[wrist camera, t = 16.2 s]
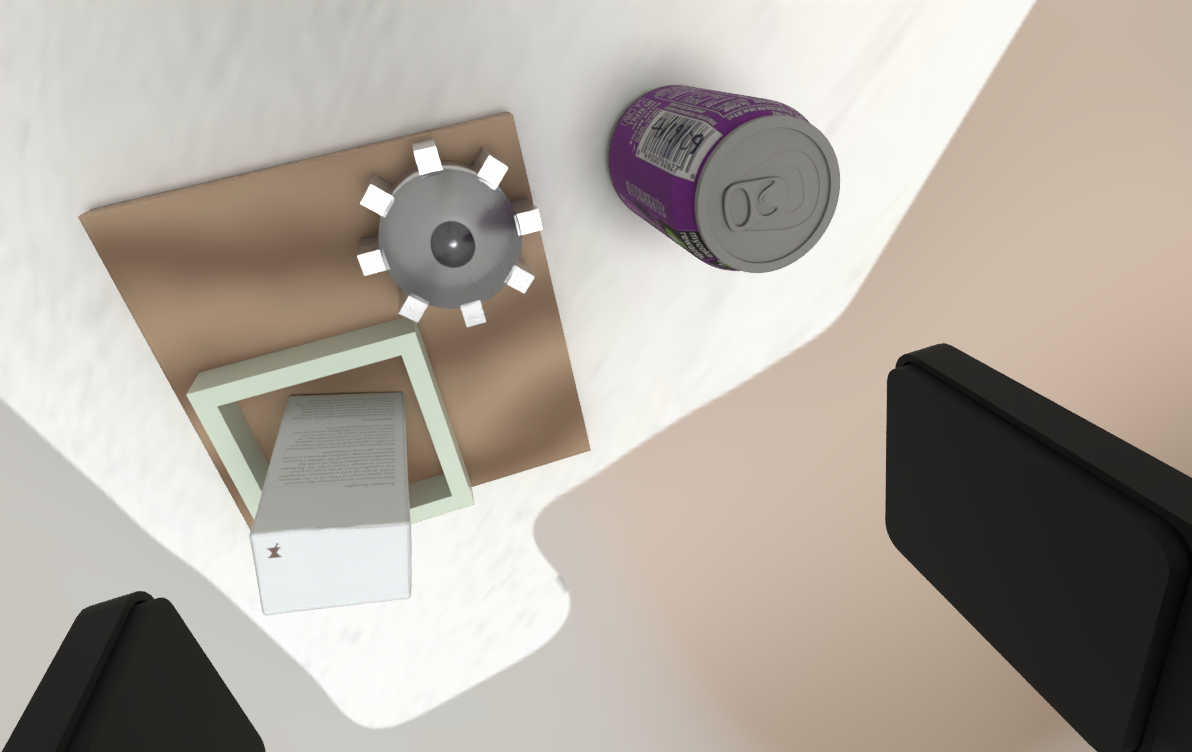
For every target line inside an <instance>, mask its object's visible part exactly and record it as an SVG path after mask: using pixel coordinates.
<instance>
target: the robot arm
mask: <svg viewBox="0 0 1192 752" xmlns="http://www.w3.org/2000/svg"><path fill="white" fill-rule="evenodd" d="M886 434H887V435H886V515H885V516H886V517H885V520H886V521H885V522H886V529H887V532H888V534H889V537H890V539H891V541H892V543H893V544H894V546H895V547H896V548H897V549H898V550H899V551H900V552H901V554H902V555H903V556H904V557H906V559H907V560H908V561H909V562H910V563H911V564H912V565H913V566H914V567H915V568H916V569H917V570H918V571H919V572H920V573H921V574H922V575H923V576H924V577H925V578H926V579H927V580H928V581H929V582H930V583H931V584H932V585H933V586H934V587H935V588H936V589H937V590H938V591H939V592H940V593H941V594H942V595H943V596H944V597H945V598H946V599H947V600H948V601H949V602H950V603H951V604H952V605H953V606H954V607H955V608H956V609H957V610H958V611H959V612H960V613H961V614H962V615H963V616H964V618H965V619H966V620H967V621H968V622H969V623H970V624H971V625H972V626H973V627H975V629H976V630H977V631H978V632H979V633H980V634H981V635H982V636H983V637H984V638H985V639H986V640H987V641H988V642H989V643H990V644H991V645H992V646H993V647H994V648H995V649H996V650H997V651H998V652H999V653H1000V654H1001V655H1002V656H1003V657H1004V658H1005V659H1006V660H1007V661H1008V662H1009V663H1010V664H1011V665H1012V666H1013V667H1014V668H1015V669H1016V670H1017V671H1018V672H1019V673H1020V674H1021V675H1022V677H1023V678H1025V679H1026V681H1027V682H1028V683H1029V684H1030V685H1031V686H1032V687H1033V688H1034V689H1035V690H1036V691H1038V693H1039V694H1040V695H1041V696H1042V697H1043V698H1044V699H1045V700H1046V701H1047V702H1048V703H1049V704H1050V705H1051V706H1052V707H1053V708H1054V709H1055V710H1056V711H1057V712H1058V713H1059V714H1060V715H1061V716H1062V717H1063V718H1064V719H1065V720H1066V721H1067V722H1068V723H1069V724H1070V725H1071V726H1072V727H1073V728H1074V729H1075V730H1076V731H1077V732H1078V733H1079V734H1080V735H1081V736H1082V737H1083V739H1084V740H1085V741H1087V743H1088V744H1089V745H1091V746H1092V747H1093V748H1094V749H1095V750H1096V751H1097V752H1192V478H1191V477H1189V476H1187V475H1186V474H1184V473H1182V472H1180V471H1178V470H1176V469H1175V468H1173V467H1171V466H1169V465H1167V464H1165V463H1164V462H1162V461H1160V460H1158V459H1156V458H1155V457H1153V456H1151V455H1149V454H1147V453H1145V452H1144V451H1142V450H1140V449H1138V448H1136V447H1135V446H1133V445H1131V444H1129V443H1127V442H1125V441H1124V440H1122V439H1120V438H1118V437H1116V436H1115V435H1113V434H1111V433H1109V432H1107V431H1106V430H1104V429H1102V428H1100V427H1098V426H1096V425H1095V424H1093V423H1091V422H1089V421H1087V420H1086V419H1084V418H1082V417H1080V416H1078V415H1077V414H1075V413H1072V412H1071V411H1069V410H1067V409H1066V408H1064V407H1062V406H1060V405H1058V404H1057V403H1055V402H1053V401H1051V400H1049V399H1047V398H1046V397H1044V396H1042V395H1040V394H1038V393H1037V392H1035V391H1033V390H1031V389H1029V388H1027V387H1026V386H1024V385H1022V384H1020V383H1018V382H1017V381H1015V380H1013V379H1011V378H1009V377H1007V376H1006V375H1004V374H1002V373H1000V372H998V371H996V370H995V369H993V368H991V367H989V366H987V365H986V364H984V363H982V362H980V361H978V360H976V359H975V358H973V357H971V356H969V355H967V354H966V353H964V352H962V351H960V350H958V349H957V348H955V347H953V346H951V345H948V344H944V343H943V344H937V345H934V346H930V347H927V348H924V349H921V350H917V351H914V352H911V353H908V354H904V355H903V356H901V357H900V358H899V359H898V361H897V363H896V368H895V369H893V370H892V371H890V373H889V375H888V379H887V431H886ZM2 752H265V747H264V744H263V741H262V740H261V737H260V736H259V734H258V733H257V731H256V730H255V728H254V727H253V725H252V723H251V722H250V721H249V719H248V717H247V716H246V714H245V713H244V712H243V710H242V709H241V707H240V705H239V704H238V702H237V701H236V699H235V698H234V696H233V695H232V694H231V692H230V690H229V689H228V687H227V686H226V684H225V683H224V681H223V680H222V678H221V677H220V676H219V674H218V672H217V671H216V669H215V668H214V666H213V665H212V663H211V662H210V660H209V659H208V657H207V656H206V654H205V653H204V651H203V650H202V648H201V647H200V645H199V644H198V642H197V641H196V639H195V638H194V636H193V635H192V633H191V632H190V630H189V629H188V627H187V626H186V624H185V623H184V621H183V619H182V618H181V616H180V615H179V613H178V612H177V610H176V609H175V608H174V606H173V605H172V604H171V602H170V601H169V600H167V599H165V598H157V599H154V598H153V597H152V596H151V595H150V594H148V593H146V592H143V591H137V592H134V593H131V594H127V595H124V596H121V597H118V598H114V599H112V600H108V601H105V602H101V603H98V604H95V605H92V606H89V607H87V608H85V609H83V610H82V611H81V613H79V615H78V616H77V617H76V619H75V621H74V623H73V624H72V626H71V628H70V630H69V632H68V633H67V635H66V637H65V639H64V641H63V642H62V644H61V646H60V648H59V650H58V652H57V653H56V655H55V657H54V659H53V661H52V662H51V664H50V666H49V668H48V669H47V671H46V673H45V675H44V677H43V679H42V681H41V682H40V684H39V686H38V688H37V689H36V691H35V693H34V695H33V697H32V698H31V700H30V702H29V704H28V706H27V707H26V709H25V711H24V713H23V715H22V716H21V718H20V720H19V722H18V724H17V726H16V727H15V729H14V731H13V733H12V735H11V736H10V738H9V740H8V742H7V743H6V745H5V747H4V749H3V751H2Z"/></svg>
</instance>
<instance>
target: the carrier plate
mask: <svg viewBox="0 0 1192 752" xmlns="http://www.w3.org/2000/svg"><path fill="white" fill-rule="evenodd" d="M430 138H433V140H434V143H435V146H436V149H437V153H438V156H439V159H440V160H455V161H460V162H464V163H467V164H469V165H472V163H473V162H474V160H475V158H476V156H477V155H478V153H479V151H480V149H481V148H482V147H484V148H485V149H487V150H488V151H490V152H491V153H493V154H495V155H496V156H498V157H499V158H500V159H501V160H502V161H503V162H504V163H505V164H506V165H507V167H508V169H507V170H506V172H505V174H504V176H503V177H502V179H501V181H500V182H499V184H498V186H499V187H500V188H501V190H502V191H503V193H504V194H505V195H506V197H507V198H508V200H509V201H513V200H517V199H521V198H525V197H528V198H529V199H530V200H531V201H532V203H533V200H532V196H531V192H530V187H529V183H528V179H527V175H526V170H525V166H524V162H523V157H522V153H521V149H520V144H519V140H518V136H517V132H516V127H515V123H514V119H513V115H512V114H511V113H509V112H505V113H501V114H497V115H492V116H488V117H484V118H480V119H475V120H471V121H467V122H463V123H458V124H454V125H450V126H445V127H441V128H437V129H433V130H428V131H424V132H420V133H416V134H411V135H407V136H403V137H399V138H394V139H390V140H386V141H381V142H377V143H373V144H369V145H364V146H360V147H356V148H352V149H347V150H343V151H339V152H335V153H330V154H326V155H322V156H317V157H313V158H309V159H305V160H300V161H296V162H292V163H288V164H283V165H279V166H275V167H271V168H266V169H262V170H258V171H253V172H249V173H245V174H241V175H236V176H232V177H228V178H224V179H219V180H215V181H211V182H207V183H202V184H198V185H194V186H189V187H185V188H181V189H177V190H172V191H168V192H164V193H160V194H155V195H151V196H147V197H143V198H138V199H134V200H130V201H125V202H121V203H117V204H113V205H108V206H104V207H100V208H96V209H91V210H89V211H87V212H86V213H84V214H82V215H80V216H78V218H79V220H80V221H81V223H82V225H83V227H84V229H85V230H86V232H87V234H88V236H89V238H90V239H91V241H92V243H93V245H94V247H95V249H96V250H97V252H98V254H99V256H100V258H101V259H102V261H103V263H104V265H105V267H106V269H107V270H108V272H109V274H110V276H111V278H112V279H113V281H114V283H115V285H116V287H117V289H118V290H119V292H120V294H121V296H122V298H123V299H124V301H125V303H126V305H127V307H128V308H129V310H130V312H131V314H132V316H133V318H134V319H135V321H136V323H137V325H138V327H139V328H140V330H141V332H142V334H143V336H144V338H145V339H146V341H147V343H148V345H149V347H150V348H151V350H152V352H153V354H154V356H155V358H156V359H157V361H158V363H159V365H160V367H161V368H162V370H163V372H164V374H165V376H166V378H167V379H168V381H169V383H170V385H171V387H172V388H173V390H174V392H175V394H176V396H177V397H178V399H179V401H180V403H181V405H182V407H183V408H184V410H185V412H186V414H187V416H188V417H189V419H190V421H191V423H192V425H193V427H194V428H195V430H196V432H197V434H198V436H199V437H200V439H201V441H202V443H203V445H204V447H205V448H206V450H207V452H208V454H209V456H210V457H211V459H212V461H213V463H214V465H215V467H216V468H217V470H218V472H219V474H220V476H221V477H222V479H223V481H224V483H225V485H226V486H227V488H228V490H229V492H230V494H231V496H232V497H233V499H234V501H235V503H236V505H237V506H238V508H239V510H240V512H241V514H242V516H243V517H244V519H245V521H246V523H247V525H248V526H249V528H250V530H251V529H252V526H253V522H254V519H253V517H252V515H251V513H250V512H249V510H248V508H247V506H246V504H245V502H244V500H243V499H242V497H241V495H240V493H239V491H238V489H237V488H236V486H235V484H234V482H233V480H232V478H231V477H230V475H229V473H228V471H227V469H226V467H225V465H224V464H223V462H222V460H221V458H220V456H219V454H218V453H217V451H216V449H215V447H214V445H213V443H212V441H211V440H210V438H209V436H208V434H207V432H206V430H205V429H204V427H203V425H202V423H201V421H200V419H199V418H198V416H197V414H196V412H195V410H194V408H193V406H192V405H191V403H190V401H189V399H188V397H187V395H186V394H187V392H188V391H189V389H190V387H191V386H192V384H193V382H194V381H195V379H196V377H197V376H198V374H199V373H200V372H204V371H207V370H211V369H215V368H218V367H222V366H226V365H230V364H233V363H237V362H241V361H244V360H248V359H252V358H255V357H259V356H263V355H266V354H270V353H274V352H278V351H281V350H285V349H289V348H292V347H296V346H300V345H303V344H307V343H311V342H315V341H318V340H322V339H326V338H329V337H333V336H337V335H340V334H344V333H348V332H352V331H355V330H359V329H363V328H366V327H370V326H374V325H377V324H381V323H385V322H388V321H392V320H396V319H400V318H403V317H405V316H403V315H401V314H399V292H400V290H401V288H400V287H399V286H398V285H397V284H396V283H395V282H394V281H393V279H392V278H391V277H390V275H389V273H388V272H387V270H385V271H382V272H378V273H374V274H370V275H366V276H364V274H363V271H362V268H361V266H360V263H359V260H358V257H357V252H358V247H359V241H360V239H363V238H367V237H371V236H375V235H379V223H380V214H378V213H376V212H374V211H372V210H371V209H369V208H367V207H365V206H363V205H361V204H360V202H361V198H362V193H363V190H364V188H365V186H366V184H367V183H368V181H369V179H370V177H371V175H372V173H374V174H376V175H377V176H379V177H381V178H383V179H384V180H386V181H388V182H390V183H391V184H394V183H395V181H396V180H397V179H398V178H399V177H400V176H401V175H403V174H404V173H405V172H407V171H408V170H410V169H411V168H413V167H415V166H417V162H416V159H415V156H414V152H413V146H412V143H413V142H418V141H422V140H426V139H430ZM520 257H521V258H522V259H524V260H525V261H526V262H527V264H528V266H529V268H530V269H531V271H532V273H533V274H534V276H535V277H534V279H533V281H532V282H531V284H530V286H529V287H528V289H527V290H526V292H525V294H524V293H522V292H520V291H518V290H517V289H515V288H513V287H511V286H509V285H508V284H506V285H505V286H504V287H503V288H502V289H501V290H500V291H499V292H498V293H497V294H495V295H494V296H492V297H491V298H489V299H488V300H486V301H484V302H482V303H481V305H482V309H483V312H484V316H485V319H486V322H485V323H481V324H477V325H474V326H470V327H466V323H465V320H464V317H463V313H462V310H461V308H459V309H444V308H438V307H433V306H430V305H428V306H427V308H426V310H425V311H424V313H423V315H422V316H421V318H420V320H419V322H418V323H417V325H418V328H419V331H420V334H421V337H422V340H423V343H424V346H425V349H426V352H427V354H428V357H429V360H430V363H431V366H432V369H433V372H434V375H435V378H436V381H437V384H438V387H439V390H440V393H441V396H442V399H443V401H444V404H445V407H446V410H447V413H448V416H449V419H450V422H451V425H452V428H453V431H454V434H455V437H456V440H457V443H458V445H459V448H460V451H461V454H462V457H463V460H464V463H465V466H466V469H467V472H468V475H469V478H470V481H471V487H473V486H477V485H480V484H483V483H486V482H490V481H493V480H496V479H499V478H503V477H506V476H509V475H512V474H516V473H519V472H522V471H525V470H529V469H532V468H535V467H538V466H542V465H545V464H548V463H551V462H554V461H558V460H561V459H564V458H567V457H571V456H574V455H577V454H580V453H584V452H587V451H590V445H589V441H588V437H587V433H586V428H585V424H584V420H583V415H582V411H581V407H580V402H579V398H578V394H577V390H576V385H575V381H574V377H573V372H572V368H571V364H570V359H569V355H568V351H567V347H566V342H565V338H564V334H563V329H562V325H561V321H560V316H559V312H558V308H557V304H556V299H555V295H554V291H553V286H552V282H551V278H550V273H549V269H548V265H547V261H546V256H545V252H544V248H543V243H542V239H541V235H540V230H539V231H535V232H531V233H528V234H524V235H522V250H521V255H520ZM396 392H401V393H403V395H404V400H405V424H406V448H407V469H408V484H411V483H414V482H418V481H421V480H424V479H428V478H431V477H434V476H437V475H441V474H444V472H443V469H442V466H441V463H440V461H439V458H438V455H437V452H436V450H435V447H434V444H433V441H432V438H431V436H430V433H429V430H428V427H427V425H426V422H425V419H424V416H423V414H422V411H421V408H420V405H419V402H418V400H417V397H416V394H415V391H414V389H413V386H412V383H411V380H410V378H409V375H408V372H407V369H406V366H405V364H404V361H403V358H402V355H400V356H397V357H393V358H390V359H386V360H382V361H379V362H375V363H372V364H368V365H364V366H361V367H357V368H354V369H350V370H346V371H343V372H339V373H336V374H332V375H328V376H325V377H321V378H318V379H314V380H310V381H307V382H303V383H300V384H296V385H292V386H289V387H285V388H282V389H278V390H274V391H271V392H267V393H264V394H260V395H256V396H253V397H249V398H246V399H242V400H238V401H237V403H238V405H239V407H240V409H241V411H242V413H243V415H244V417H245V419H246V421H247V423H248V425H249V427H250V429H251V431H252V433H253V435H254V437H255V439H256V441H257V443H258V445H259V447H260V449H261V450H262V452H263V454H264V456H265V458H266V460H267V462H268V464H269V465H270V461H271V457H272V453H273V450H274V446H275V443H276V439H277V436H278V433H279V429H280V425H281V421H282V418H283V414H284V410H285V407H286V403H287V400H288V397H289V396H307V395H337V394H368V393H396Z"/></svg>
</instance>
